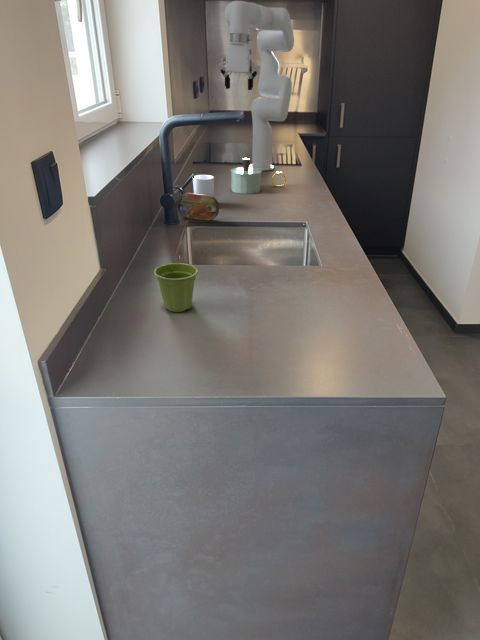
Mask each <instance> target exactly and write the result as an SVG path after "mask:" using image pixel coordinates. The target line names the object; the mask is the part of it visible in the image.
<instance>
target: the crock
mask: <svg viewBox="0 0 480 640" xmlns="http://www.w3.org/2000/svg"><path fill="white" fill-rule="evenodd" d="M261 174H262V173H260V174H257V175H238V174H234V173H231V172H230V191H231V192H233V193H236V194H242V195H252V194H253V195H254V194H258V193H260V191H261V176H262V175H261Z"/></svg>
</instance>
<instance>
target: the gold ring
mask: <svg viewBox="0 0 480 640" xmlns="http://www.w3.org/2000/svg"><path fill="white" fill-rule="evenodd" d="M276 175H279V176H280V175H281V176H283V178H284V181H283V183H282V184H275V183H274V178H275V176H276ZM286 181H287V177H286V176H285V174H284V173H283V171H276V172H275V173H274V174H273V175H272V176H271V183H272V185H273V187H280V188H283V186H285V184H286Z"/></svg>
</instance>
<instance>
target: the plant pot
mask: <svg viewBox="0 0 480 640" xmlns="http://www.w3.org/2000/svg"><path fill="white" fill-rule="evenodd" d="M198 272H199V270H198V268H197V267H196V266H194V265H192V264H188V263H182V262H181V263H179V262H172V263H167V264H162V265H159V266H157V267H155V269H154V270H153V275H154V276H155V277H156V280H157V281H158V285H159V289H160V294H161V297H162V302H163V306H164V307H163V308H164V309H167V310H168V311H170V312H173V313H178V312H179V313H180V312H185V311H186V310H189V309H191V308H192V306H193V296H194V286H195V280H196V276H197V275H198Z"/></svg>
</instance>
